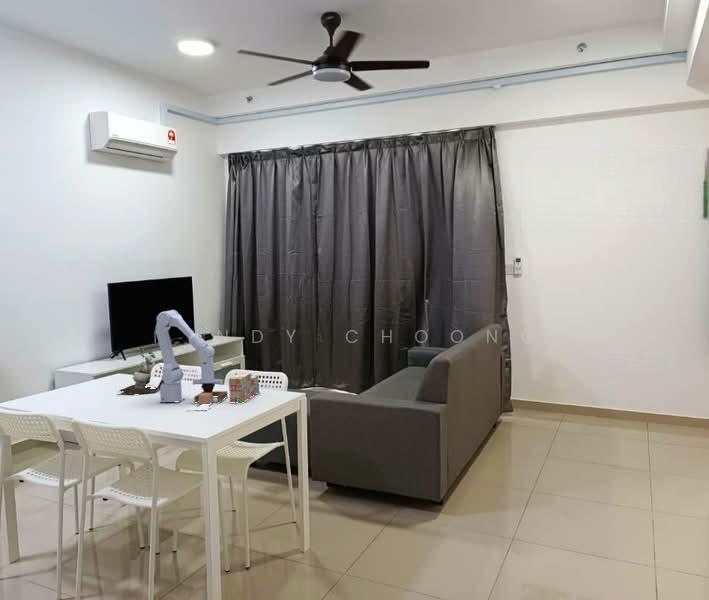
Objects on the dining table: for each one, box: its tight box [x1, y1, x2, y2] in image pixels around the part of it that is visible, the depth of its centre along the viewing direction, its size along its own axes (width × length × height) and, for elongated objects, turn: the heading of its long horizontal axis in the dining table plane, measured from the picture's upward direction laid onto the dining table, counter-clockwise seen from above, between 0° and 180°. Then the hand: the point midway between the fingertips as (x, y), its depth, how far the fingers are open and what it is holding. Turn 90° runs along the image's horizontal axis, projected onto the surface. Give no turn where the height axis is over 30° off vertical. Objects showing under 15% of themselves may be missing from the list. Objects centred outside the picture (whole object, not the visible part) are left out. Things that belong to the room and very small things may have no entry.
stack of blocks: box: [228, 372, 260, 404], centre depth 272 cm, size 21×6×12 cm, turn 168°
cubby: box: [193, 390, 228, 403], centre depth 270 cm, size 12×11×3 cm
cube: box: [197, 392, 214, 406], centre depth 262 cm, size 5×5×5 cm
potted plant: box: [119, 347, 165, 395], centre depth 296 cm, size 20×19×25 cm
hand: (208, 398), depth 266 cm, fingers closed, pressing on cube
